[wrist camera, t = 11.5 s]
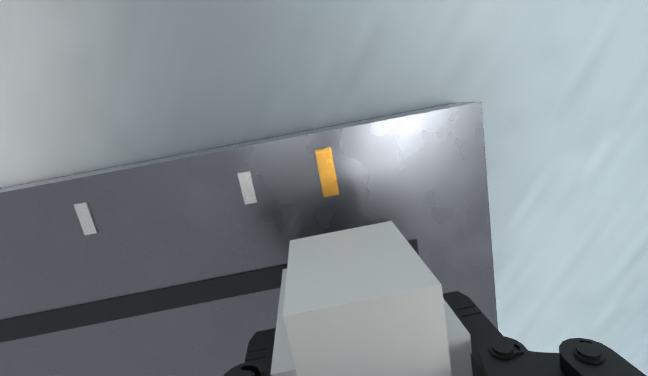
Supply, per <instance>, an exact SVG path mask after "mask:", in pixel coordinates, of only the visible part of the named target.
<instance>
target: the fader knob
mask: <svg viewBox="0 0 648 376" xmlns="http://www.w3.org/2000/svg"><path fill="white" fill-rule="evenodd" d="M283 319H284V323H285V327H286V332H287V336H288V340H289V344H290V348H291V353H292V357H293V361H294V365H295V370H296V374H297V376H452V373H451V364H450V355H449V346H448V337H447V328H446V320H445V311H444V302H443V293H442V285H441V283H440V282H439V281H438V280H437V278H436V277H435V276H434V274H433V273H432V272H431V271H430V269H429V268H428V267H427V265H426V264H425V263H424V262H423V260H422V259H421V258H420V257H419V255H418V254H417V253H416V251H415V250H414V249H413V248H412V246H411V245H410V244H409V243H408V241H407V240H406V239H405V237H404V236H403V235H402V234H401V232H400V231H399V230H398V229H397V227H396V226H395V225H394V223H393V222H392V221H388V222H382V223H377V224H372V225H367V226H362V227H357V228H351V229H346V230H341V231H336V232H331V233H326V234H320V235H315V236H310V237H305V238H300V239H295V240H290V243H289V254H288V265H287V276H286V287H285V298H284V309H283Z"/></svg>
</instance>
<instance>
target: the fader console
mask: <svg viewBox="0 0 648 376" xmlns="http://www.w3.org/2000/svg"><path fill="white" fill-rule="evenodd" d="M388 221H392V222H393V223H394V225H395V226H396V227H397V229H398V230H399V231H400V232H401V234H402V235H403V236H404V237H405V239H406V240H407V241H408V243H409V244H410V245H411V246H412V248H413V249H414V250H415V251H416V253H417V254H418V255H419V257H420V258H421V259H422V260H423V262H424V263H425V264H426V265H427V267H428V268H429V269H430V271H431V272H432V273H433V274H434V276H435V277H436V278H437V280H438V281H439V282H440V283H441V285H442V293H443V294H444V293H449V292H454V291H459V292H460V293H462V294H464V295H466V296H468V297H469V298H470V299H471V300H472V301H473V302H474V303H475V305H476V307H478V308H479V309H480V310H481V311H482V314H484V315H485V316H486V317H487V318H488V319H489V321H490V322H491V323H492V324H493V325H494V326H495V327H496V329H497V330H498V325H497V311H496V297H495V284H494V270H493V256H492V242H491V229H490V215H489V201H488V187H487V174H486V160H485V146H484V132H483V119H482V105H481V102H462V103H451V104H445V105H440V106H435V107H429V108H424V109H419V110H414V111H408V112H403V113H398V114H392V115H387V116H382V117H376V118H371V119H366V120H360V121H355V122H350V123H345V124H339V125H334V126H329V127H323V128H318V129H313V130H307V131H302V132H297V133H291V134H286V135H281V136H276V137H270V138H265V139H260V140H254V141H249V142H244V143H238V144H233V145H228V146H222V147H217V148H212V149H207V150H201V151H196V152H191V153H185V154H180V155H175V156H169V157H164V158H159V159H153V160H148V161H143V162H138V163H132V164H127V165H122V166H116V167H111V168H106V169H100V170H95V171H90V172H84V173H79V174H74V175H69V176H63V177H58V178H53V179H47V180H42V181H37V182H31V183H26V184H21V185H15V186H10V187H5V188H0V376H224V374H225V373H226V372H228V371H229V370H230V369H231V368H233V367H235V366H237V365H239V364H242V363H244V362H245V357H246V354H247V348H248V343H249V341H250V339H251V338H252V337H253V335H254V334H255V333H256V332H257V331H262V330H267V329H272V328H276V323H277V314H278V306H279V297H280V289H281V280H282V272H283V269H286V268H287V265H288V254H289V243H290V240H295V239H300V238H305V237H310V236H315V235H320V234H326V233H331V232H336V231H341V230H346V229H351V228H357V227H362V226H367V225H372V224H377V223H382V222H388Z"/></svg>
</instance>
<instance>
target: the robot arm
mask: <svg viewBox="0 0 648 376" xmlns="http://www.w3.org/2000/svg"><path fill="white" fill-rule="evenodd" d="M286 276H287V268H286V269H283V272H282V280H281V289H280V297H279V306H278V314H277V323H276V328H272V329H267V330H262V331H257V332H256V333H255V334H254V335H253V337H252V338H251V339H250V341H249V343H248V348H247V354H246V357H245V362H244V363H242V364H239V365H237V366H235V367H233V368H231V369H230V370H229V371H228V372H226V373H225V374H224V376H297V374H296V370H295V365H294V361H293V357H292V353H291V348H290V344H289V340H288V336H287V332H286V327H285V323H284V319H283V309H284V298H285V287H286ZM443 302H444V311H445V320H446V328H447V337H448V346H449V355H450V364H451V373H452V376H646V375H645V374H643V373H642V372H641V371H639V370H638V369H637V368H635V367H634V366H633V365H631V364H630V363H629V362H627V361H626V360H625V359H624V358H622V357H621V356H620V355H618V354H617V353H616V352H614V351H613V350H612V349H610V348H608V347H607V346H605V345H603V344H602V343H599V342H596V341H593V340H590V339H583V338H573V339H568V340H565V341H563V342H562V343H561V345H560V346H559V353H543V352H532V351H528V350H527V349H526V348H525V347H524V345H523V344H521V343H520V342H518V341H516V340H514V339H511V338H508V337H503V335H502V334H501V333H500V332H499V331H498V330H497V329H496V327H495V326H494V325H493V324H492V323H491V322H490V321H489V319H488V318H487V317H486V316H485V315H484V314H482V311H481V310H480V309H479V308H478V307H476V305H475V303H474V302H473V301H472V300H471V299H470V298H469V297H468V296H466V295H464V294H462V293H460V292H459V291H454V292H449V293H444V294H443Z"/></svg>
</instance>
